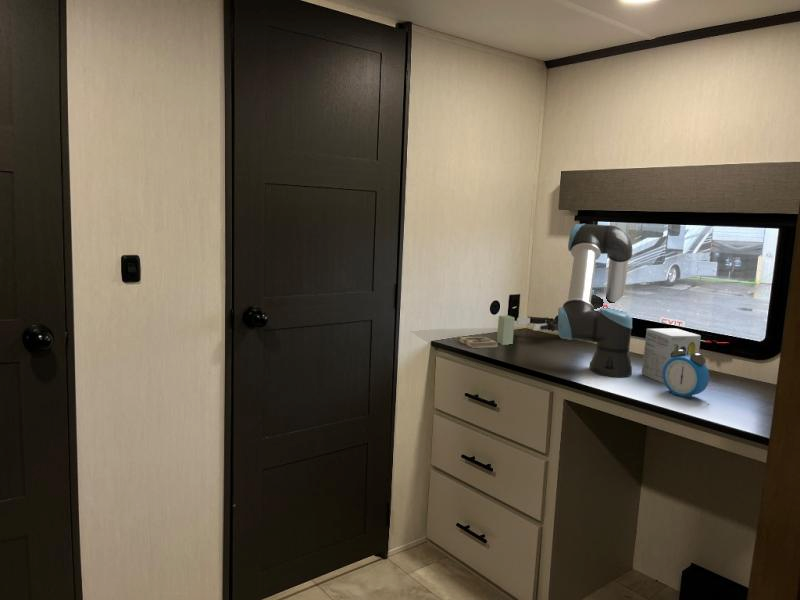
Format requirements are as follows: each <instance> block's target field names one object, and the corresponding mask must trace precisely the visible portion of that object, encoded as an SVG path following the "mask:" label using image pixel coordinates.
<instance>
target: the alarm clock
mask: <svg viewBox="0 0 800 600" xmlns="http://www.w3.org/2000/svg"><path fill="white" fill-rule="evenodd" d="M684 354H686V352H685V351H684V350H682V349H676V350H674V351H672V352H671V355H670V356H671V358H672V359H670V360H669V361H668V362H667V363H666V364H665V366H664V368H663V380H664V383H665V384H664V383H663V384H664V385H665V386H666V388H667V389H668V391H669V394H673V395H675V396H678V397H682V398H683V397H684V398H685V397H687V398H688V400H690V399H691V396H695V395H698V394H701V393H703V392H704V391H705V390H706V388H708V386H709V382H710V373H709V369H708V367H707V366H706V363H707V359H706V357H705V356H704V355H703V354H702V353H700V352H699V353H693V354H692V355H684ZM687 354H690V353H688V352H687ZM681 355H684V356H681ZM677 356H678V357H677ZM673 357H674V358H673Z"/></svg>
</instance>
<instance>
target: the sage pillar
mask: <svg viewBox="0 0 800 600" xmlns="http://www.w3.org/2000/svg"><path fill="white" fill-rule="evenodd" d="M515 319H516V318H515V317H514V316H512V315H498V321H497V333H496V334H497V336H496V342H498V344H499V343H500V345H502V346H505V345H506V346H508V345H509V344H514V343H513V342H514V331H515Z"/></svg>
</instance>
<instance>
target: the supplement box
mask: <svg viewBox="0 0 800 600" xmlns="http://www.w3.org/2000/svg"><path fill="white" fill-rule="evenodd" d="M645 333H646V334H645V340H644V351H643V358H642V367H641V375H643V376H646V377H648V378H651V379H652V380H655V381H657V382H660V383H661V384H664V385H665V383H664V380H663V368H664V366H665V364H666V363H667V362H668V361H669V360H670V359H672V358H671V356H670V355H671V352H672V351H674V350H676V349H682V350H684V351H685V352H686V354H684V355H692V354H693V353H700V348H701V347H700V346H701V340H702V339H701V337H702V335H700V334H697V333H693V332H689V331H686V330H683V329H680V328H673V327H671V328H670V327H669V328H666V327H664V328H662V327H661V328H660V327H659V328H646V332H645ZM687 352H688V353H690V354H687ZM684 355H681V356H684ZM677 357H678V356H677ZM673 358H674V357H673Z"/></svg>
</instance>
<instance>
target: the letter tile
mask: <svg viewBox="0 0 800 600" xmlns="http://www.w3.org/2000/svg"><path fill="white" fill-rule="evenodd" d="M459 343H462V344H464V345H465V346H467V347H469V348H471V349H476V348H477V349H478V348H479V349H480V348H483V349H484V348H498V344H499V343H498V342H497V340H496V341H495V340H493V339H491V338H489V337H486V336H460V337H459Z"/></svg>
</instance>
